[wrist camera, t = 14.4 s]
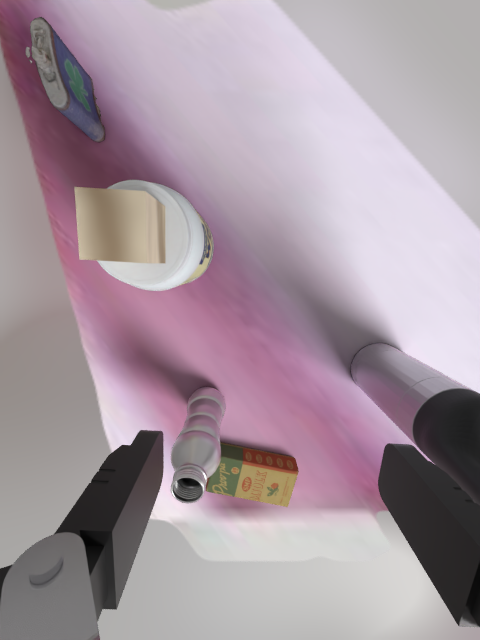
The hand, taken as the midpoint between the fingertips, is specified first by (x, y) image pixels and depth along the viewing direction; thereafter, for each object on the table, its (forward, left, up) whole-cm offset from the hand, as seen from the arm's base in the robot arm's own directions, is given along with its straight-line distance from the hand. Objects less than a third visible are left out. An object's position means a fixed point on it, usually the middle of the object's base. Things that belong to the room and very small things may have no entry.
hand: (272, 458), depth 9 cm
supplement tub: (+12, -9, -36) cm, 39 cm away
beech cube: (+12, -9, -19) cm, 24 cm away
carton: (-3, +32, -37) cm, 49 cm away
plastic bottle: (+6, +18, -36) cm, 41 cm away
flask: (+25, -28, -36) cm, 52 cm away
